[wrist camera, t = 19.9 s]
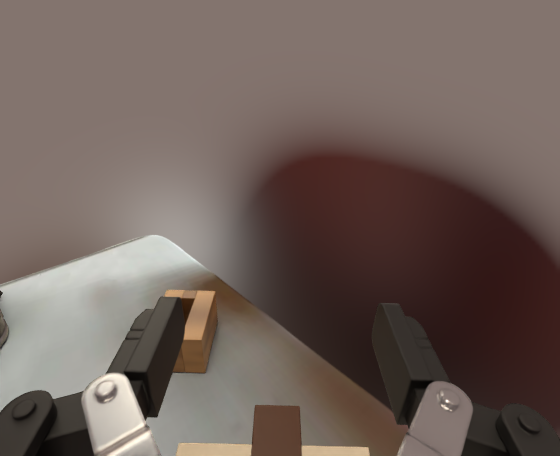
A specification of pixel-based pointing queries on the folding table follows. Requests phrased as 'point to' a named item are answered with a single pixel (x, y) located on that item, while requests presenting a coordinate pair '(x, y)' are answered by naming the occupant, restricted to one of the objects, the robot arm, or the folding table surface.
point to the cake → (203, 452)
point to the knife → (276, 431)
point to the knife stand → (196, 329)
